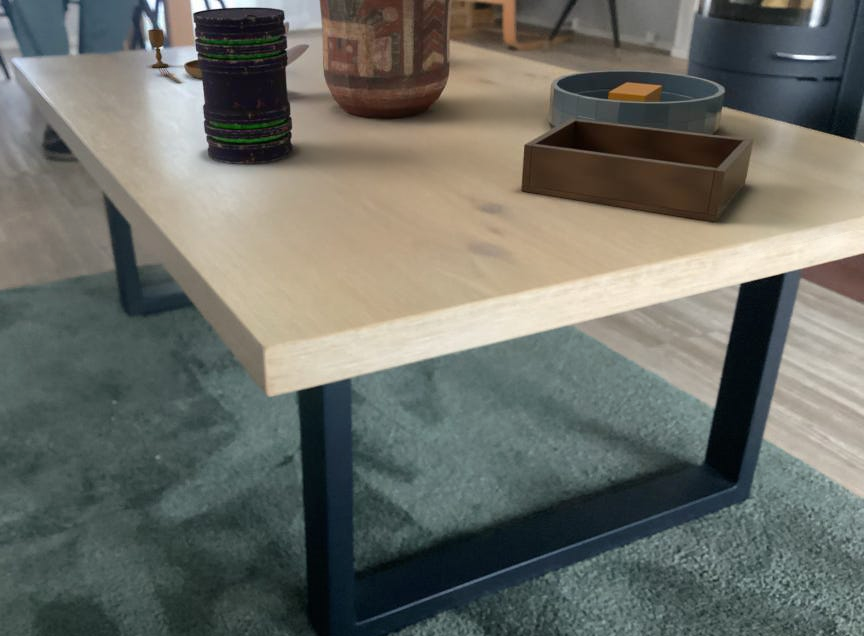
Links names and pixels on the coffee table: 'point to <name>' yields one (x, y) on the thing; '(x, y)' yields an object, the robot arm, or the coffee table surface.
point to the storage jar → (244, 83)
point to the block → (636, 92)
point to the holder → (638, 167)
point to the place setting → (190, 67)
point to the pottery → (386, 54)
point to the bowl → (677, 110)
